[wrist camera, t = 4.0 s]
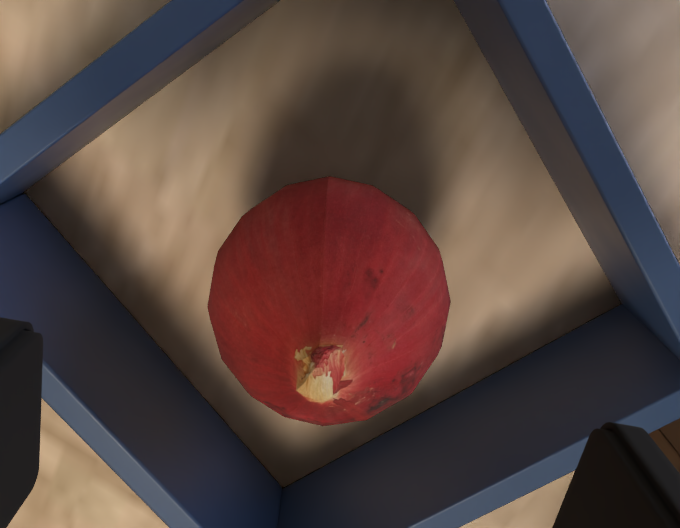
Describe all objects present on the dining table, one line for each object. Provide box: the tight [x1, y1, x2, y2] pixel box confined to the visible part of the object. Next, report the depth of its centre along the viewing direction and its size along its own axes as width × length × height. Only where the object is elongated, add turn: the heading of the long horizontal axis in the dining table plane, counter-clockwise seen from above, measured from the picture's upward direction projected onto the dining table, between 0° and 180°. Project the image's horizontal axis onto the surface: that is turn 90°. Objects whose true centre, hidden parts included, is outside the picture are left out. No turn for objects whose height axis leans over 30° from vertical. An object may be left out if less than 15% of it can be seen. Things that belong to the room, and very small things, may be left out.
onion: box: [208, 176, 450, 426], centre depth 15 cm, size 6×6×8 cm
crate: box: [0, 0, 680, 528], centre depth 16 cm, size 15×15×4 cm
